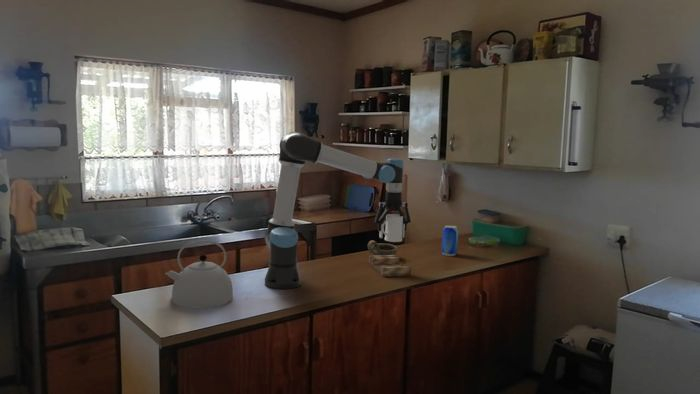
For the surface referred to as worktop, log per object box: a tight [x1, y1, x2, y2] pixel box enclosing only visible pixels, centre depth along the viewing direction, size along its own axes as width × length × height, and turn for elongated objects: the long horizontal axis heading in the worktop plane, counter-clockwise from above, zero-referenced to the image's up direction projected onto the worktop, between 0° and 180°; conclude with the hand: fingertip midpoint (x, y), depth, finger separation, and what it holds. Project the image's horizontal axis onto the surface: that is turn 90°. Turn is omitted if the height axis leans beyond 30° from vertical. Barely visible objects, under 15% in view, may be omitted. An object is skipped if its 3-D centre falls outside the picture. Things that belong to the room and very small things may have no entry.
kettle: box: [165, 240, 234, 309], centre depth 194 cm, size 25×23×22 cm
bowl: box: [367, 239, 398, 256], centre depth 269 cm, size 14×18×10 cm
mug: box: [382, 213, 404, 243], centre depth 242 cm, size 12×8×12 cm
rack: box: [368, 254, 412, 277], centre depth 247 cm, size 14×22×4 cm, turn 15°
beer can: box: [440, 224, 459, 257], centre depth 282 cm, size 8×8×16 cm
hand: (391, 237), depth 243 cm, fingers closed on mug, 10 cm apart
